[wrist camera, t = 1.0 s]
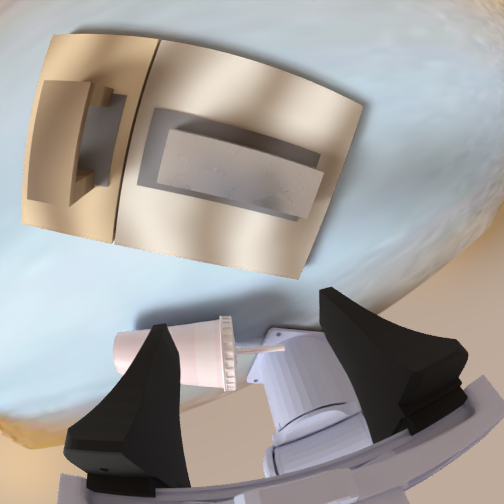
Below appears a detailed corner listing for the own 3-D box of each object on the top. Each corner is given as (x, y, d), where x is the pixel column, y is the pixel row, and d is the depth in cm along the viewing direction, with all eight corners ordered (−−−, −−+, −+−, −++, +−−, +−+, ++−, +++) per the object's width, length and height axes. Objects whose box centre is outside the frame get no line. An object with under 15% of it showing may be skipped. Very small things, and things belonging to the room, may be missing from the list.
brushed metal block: (310, 166, 18) (324, 172, 16) (295, 207, 19) (307, 218, 17) (173, 128, 15) (169, 129, 13) (161, 175, 16) (156, 182, 14)
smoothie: (135, 375, 24) (278, 371, 26) (114, 401, 18) (295, 398, 19) (128, 311, 25) (276, 307, 26) (102, 323, 18) (294, 318, 20)
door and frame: (353, 106, 18) (398, 107, 13) (292, 270, 23) (316, 311, 18) (62, 39, 12) (23, 21, 7) (30, 216, 17) (-7, 247, 12)
